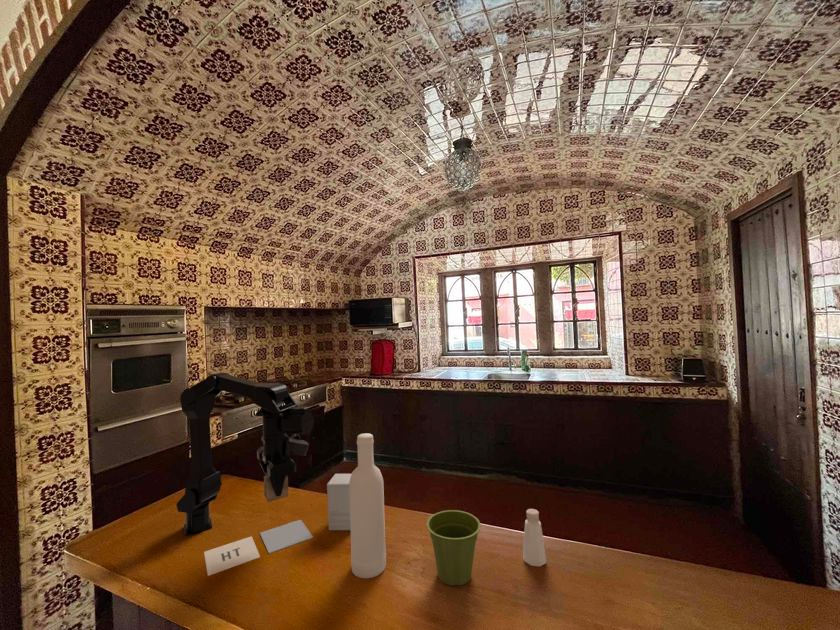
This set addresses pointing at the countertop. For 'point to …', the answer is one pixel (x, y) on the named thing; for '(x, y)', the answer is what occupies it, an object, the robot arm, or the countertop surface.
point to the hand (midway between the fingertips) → (276, 492)
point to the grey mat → (285, 536)
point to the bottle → (367, 513)
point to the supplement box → (339, 502)
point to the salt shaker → (533, 540)
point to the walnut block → (270, 492)
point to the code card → (230, 555)
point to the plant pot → (454, 544)
